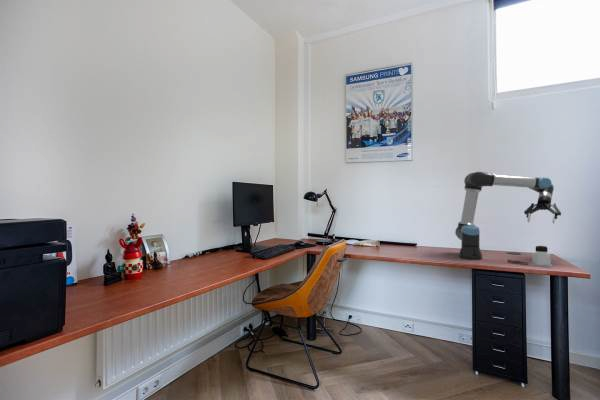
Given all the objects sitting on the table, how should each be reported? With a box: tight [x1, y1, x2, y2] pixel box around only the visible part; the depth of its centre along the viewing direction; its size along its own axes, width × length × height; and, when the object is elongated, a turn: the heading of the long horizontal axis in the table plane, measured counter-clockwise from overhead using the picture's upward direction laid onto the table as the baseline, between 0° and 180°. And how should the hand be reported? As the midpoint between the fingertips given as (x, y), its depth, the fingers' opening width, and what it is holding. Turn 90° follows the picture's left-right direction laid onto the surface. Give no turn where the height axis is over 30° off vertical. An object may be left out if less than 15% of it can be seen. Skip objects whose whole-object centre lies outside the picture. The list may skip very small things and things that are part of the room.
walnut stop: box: [507, 259, 529, 266], centre depth 200 cm, size 11×1×2 cm, turn 42°
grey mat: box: [530, 262, 554, 269], centre depth 194 cm, size 10×10×1 cm
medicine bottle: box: [531, 245, 552, 266], centre depth 195 cm, size 7×7×12 cm
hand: (540, 221), depth 206 cm, fingers open, 13 cm apart
